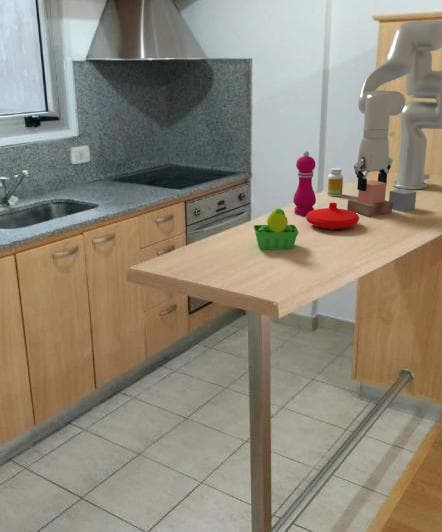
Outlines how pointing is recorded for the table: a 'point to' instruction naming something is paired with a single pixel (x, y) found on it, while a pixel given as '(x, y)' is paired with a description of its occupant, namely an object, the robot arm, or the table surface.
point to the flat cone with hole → (332, 217)
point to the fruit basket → (276, 232)
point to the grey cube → (403, 199)
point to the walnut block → (370, 208)
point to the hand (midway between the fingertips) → (371, 188)
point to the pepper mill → (304, 186)
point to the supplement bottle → (335, 182)
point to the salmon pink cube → (373, 192)
